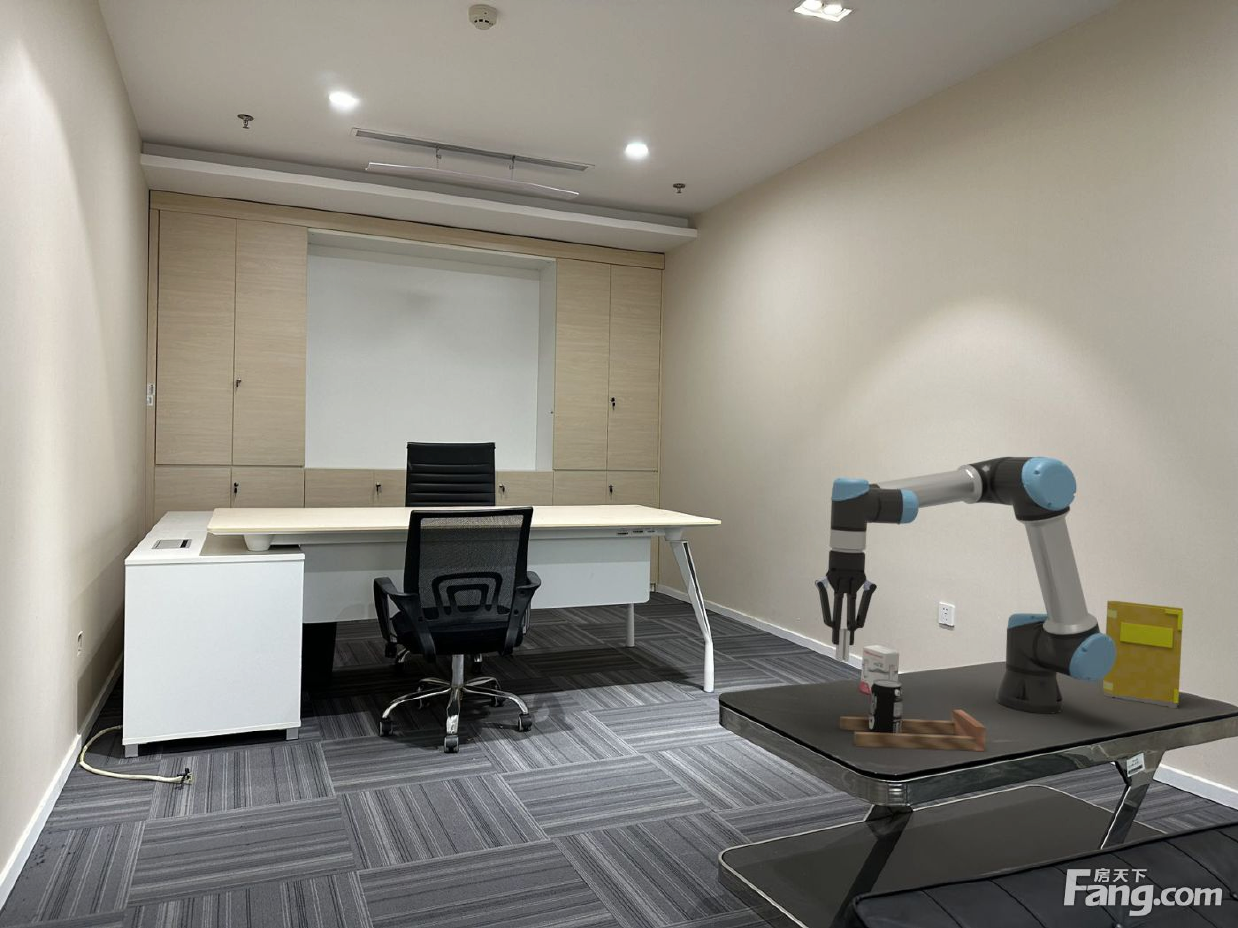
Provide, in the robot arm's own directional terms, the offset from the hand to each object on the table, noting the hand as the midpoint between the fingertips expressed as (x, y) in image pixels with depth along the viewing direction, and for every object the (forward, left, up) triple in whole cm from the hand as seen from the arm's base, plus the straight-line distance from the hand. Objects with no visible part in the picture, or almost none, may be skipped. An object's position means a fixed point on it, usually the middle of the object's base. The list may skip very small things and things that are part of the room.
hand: (841, 659), depth 184 cm
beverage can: (-10, 0, -17) cm, 19 cm away
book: (-91, -40, -17) cm, 101 cm away
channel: (-16, 0, -16) cm, 23 cm away
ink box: (-20, -35, -17) cm, 44 cm away
